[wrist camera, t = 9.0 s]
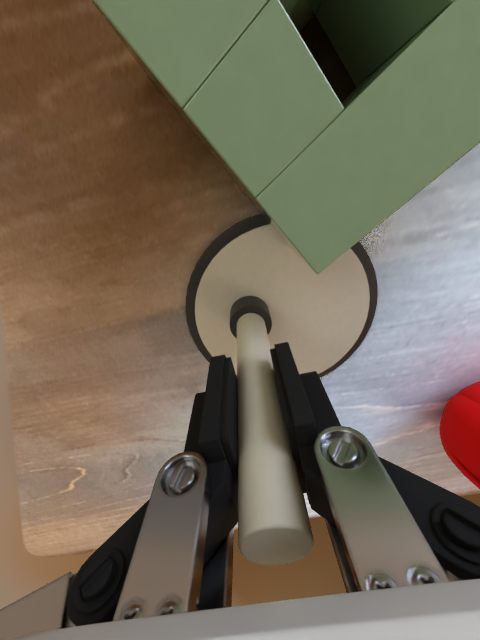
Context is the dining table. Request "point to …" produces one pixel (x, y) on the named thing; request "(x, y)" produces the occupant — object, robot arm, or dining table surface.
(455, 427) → the flower
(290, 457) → the pen
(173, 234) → the dining table surface
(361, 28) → the pen stand
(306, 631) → the robot arm
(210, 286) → the beige coaster disc
